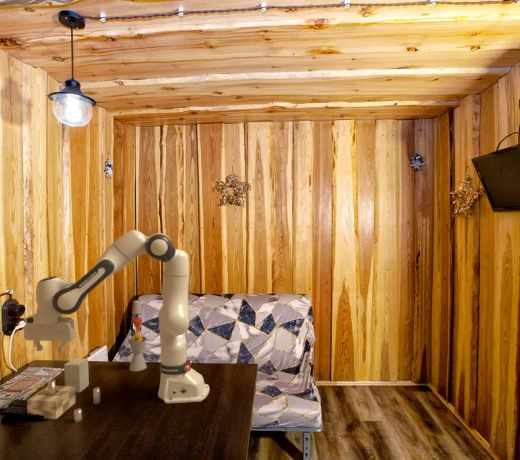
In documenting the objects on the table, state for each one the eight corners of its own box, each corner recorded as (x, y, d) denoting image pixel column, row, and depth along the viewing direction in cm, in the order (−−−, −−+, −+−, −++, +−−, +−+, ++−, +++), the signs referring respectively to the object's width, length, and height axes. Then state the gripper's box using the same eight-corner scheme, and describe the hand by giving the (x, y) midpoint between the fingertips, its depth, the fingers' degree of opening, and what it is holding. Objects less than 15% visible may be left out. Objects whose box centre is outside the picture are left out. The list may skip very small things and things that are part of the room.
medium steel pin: (101, 401, 150) (101, 387, 150) (98, 404, 147) (97, 390, 147) (95, 400, 150) (95, 387, 150) (92, 404, 148) (91, 390, 147)
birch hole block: (75, 402, 149) (74, 386, 148) (56, 419, 137) (55, 401, 136) (48, 401, 150) (48, 385, 149) (27, 417, 138) (27, 400, 138)
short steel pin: (83, 418, 137) (83, 408, 137) (79, 422, 134) (79, 412, 134) (77, 418, 137) (76, 408, 137) (72, 422, 135) (72, 411, 134)
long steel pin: (57, 408, 144) (56, 379, 144) (53, 411, 142) (52, 382, 141) (51, 408, 145) (50, 379, 144) (47, 411, 142) (46, 382, 142)
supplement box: (89, 385, 164) (88, 358, 164) (79, 392, 157) (79, 365, 157) (74, 384, 165) (73, 357, 165) (64, 392, 158) (63, 364, 157)
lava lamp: (128, 365, 186) (127, 300, 185) (146, 363, 189) (145, 298, 188) (128, 372, 177) (127, 303, 176) (147, 369, 181) (146, 302, 180)
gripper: (78, 315, 144) (79, 348, 144) (32, 314, 146) (33, 347, 146) (68, 319, 138) (70, 354, 138) (20, 319, 140) (21, 353, 140)
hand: (50, 350), depth 142 cm, fingers open, 8 cm apart
